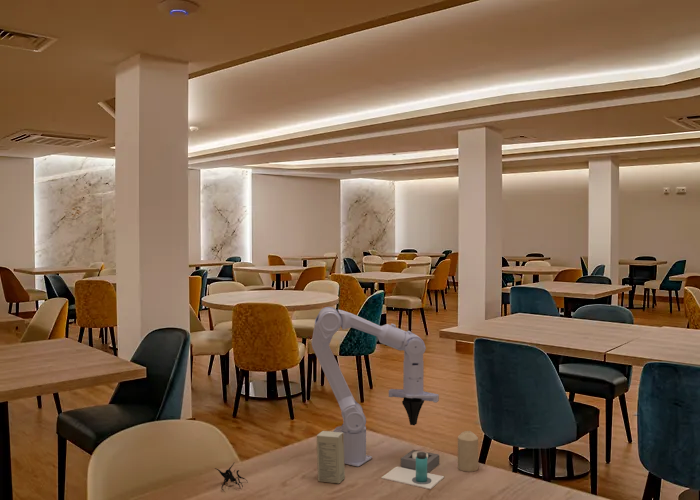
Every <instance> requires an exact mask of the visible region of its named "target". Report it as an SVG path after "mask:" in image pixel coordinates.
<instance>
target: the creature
mask: <svg viewBox="0 0 700 500" xmlns="http://www.w3.org/2000/svg"><path fill="white" fill-rule="evenodd" d="M234 464H235V462H233V463H232V464H231V466H230V467H229V468H228V469H226V470H225V472H223V471H222V470H220V469H219V468H217V467H215V468H214V469H215V470H216V471H218V472H219V474H220V475H221V476H222V477H223V483H222V484H221V490H222V491H223V492H224V491H225V490H224V489H223V487H224V485H225V486H226V483H228V482H229V481H230V482H231V483H233V482H234V484H235V485H237V486H239V489H241V487H242V488H243V487H244V486H243V485H240V484H243V482H241V480H240V479H242V480H245V481H246V482H247V483H248V484H249V482H248V480H247V479H246V478H245V477H242V476H241V475H240V474H239V472H240V470H239V469H238V470H236V468H235V469H234V471H232V470H231V469H232V467H233V466H234ZM235 471H236V472H235ZM233 473H236V477H235V476H234V474H233Z"/></svg>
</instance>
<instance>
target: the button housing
mask: <svg viewBox="0 0 700 500" xmlns="http://www.w3.org/2000/svg"><path fill="white" fill-rule="evenodd" d="M416 451H419V450H418V449H412V450H410V451H409V452H408V453H406V454H405V455H403V456H402V457H400V467H402V468H407V469H412V470H416V459H413V458H412V453H413V452H416ZM423 452H426V453H428V459H427V473H430V472H431V471H432V470H434V469H435V468H436V467H437V466H439V465H440V454H439V453H433V452H429V451H423Z"/></svg>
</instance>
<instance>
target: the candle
mask: <svg viewBox="0 0 700 500" xmlns="http://www.w3.org/2000/svg"><path fill="white" fill-rule="evenodd" d="M457 468H458V470H460V471H463V472H467V473H472V472H476V471H478V470H479V437H478V435H477V434H475V433H474V432H473V431H471V430H464V431H462V432H461V433H460V434H459V435H458V436H457Z"/></svg>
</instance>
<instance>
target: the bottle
mask: <svg viewBox="0 0 700 500" xmlns="http://www.w3.org/2000/svg"><path fill="white" fill-rule="evenodd" d="M425 452H426V451H424V452H418V453H417V456H416V481H417V482H420V483H424V482H427V457H426V453H425Z"/></svg>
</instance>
